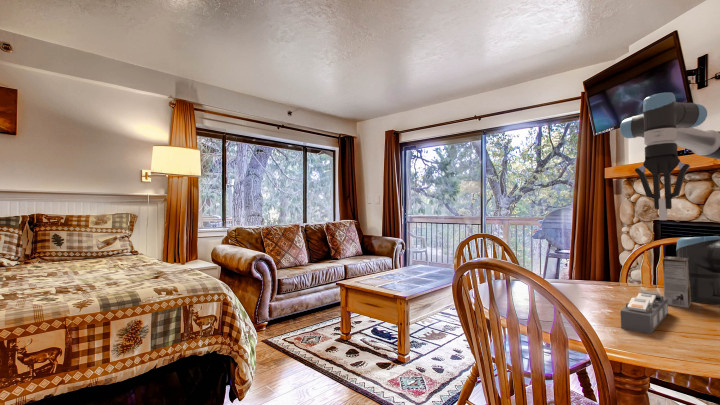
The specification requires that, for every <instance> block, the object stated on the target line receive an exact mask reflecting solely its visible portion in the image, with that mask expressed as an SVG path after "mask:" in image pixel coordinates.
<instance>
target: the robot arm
mask: <svg viewBox="0 0 720 405" xmlns="http://www.w3.org/2000/svg"><path fill="white" fill-rule="evenodd" d="M642 105H643V107H642V113H641V114H637V115H633V116H631V117H628V118H625V119H624V120H622V121H621V122H620V126H619V132H620V134H621V136H622V137H624V138H625V139H636V138H644V140H643V142H644V145H645V147H644V161H643V163H642V165H641V166H639V167H638V168H637V167H635V169H634V172H635V173H636V174H637V175H638V176H639V179H640V182H641V185H642V187H643V191H644V193H645V196H646V197H647V198H651V199H653V202H654V205H653V206H654V207H653V208H654V209H655V210H658V214H659V215H658V216H659V221H668V210H671V209H672V207H673V206H672V205H673V204H672V202H673V201H672V199H674V198H676V197H679V196H680V194H681V190H682V187H683V183H684V180H685V176H686V173H687V172H688V171H689V169H690V168H691V165H690V164H689V163H685V162H682V161H681V159H680V158H679V155H678V154H679V153H678V147H679V148H682V149H685V150H689V151H691V153H693V154H695V155H697V156H701V157H705V158H709V159H714V160H715V159H716V160H720V130H713V129H708V130H702V129H698V128H697V127H698V126H700V125H702V124H703V123H704V122H705V121H706V119H707V118H708V117H707V116H708V110H707V108H706V107H705V106H704V105H703V104H699V103H696V102H695V103H694V102H680V101H679V102H678V101H677V98H676V96H675V93H673V92H660V93H655V94H651V95H649V96H647V97H645V98H644V99H643V102H642ZM695 127H696V128H695ZM677 167H678V170H679V172H678V175H677V178H676V181H675V186H674V189H673V192H672V181H671V180H672V177H671V176H672V172H673V171H675V169H676V168H677ZM646 170H647V171H648V172H649V173H650V174H652V183H653V185H652V186H653V187H652V188H653V192H652V189H651V185H650V184H649V180H648V178H647V176H646V175H647V174H646ZM661 174H662V175H663V183H664V184H663V186H664V198H661V182H660V181H661V180H660V177H661ZM675 251H676V257H681V258H689V270H690V290H691V302H694V303H695V302H696V303H703V304H711V305H713V304H714V305H715V304H716V305H720V236H719V235H713V236H693V237H691V236H689V237H680V238H678V239H677V241H676V249H675Z"/></svg>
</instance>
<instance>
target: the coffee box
mask: <svg viewBox="0 0 720 405" xmlns="http://www.w3.org/2000/svg"><path fill="white" fill-rule="evenodd" d="M662 270H663V272H662V273H663V293H664V294H663V296H664V297H665V298H668V306H674V307H680V308H687V309H689V308H690V306H691V303H692V301H691V290H690V270H689V258H681V257H677V256H669V255H667V256H666V255H665V257H664V258H663V259H662Z"/></svg>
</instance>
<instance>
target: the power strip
mask: <svg viewBox="0 0 720 405" xmlns="http://www.w3.org/2000/svg"><path fill="white" fill-rule="evenodd" d="M660 297H661V298H656V299H655V301H654V303H653V305H652V306H651V305H649V306H648V309H647V310H646V312H642V311H636V310H630V309H628V308H627V306H628V304H629V302H625V307H623V308H622V309H621V310H620V328H621V329H623V330H629V331H632V332H633V331H634V332H636V333H637V332H638V333H642V334H643V333H644V334H648V335H651V334H652V333H653V332H654V331H655V330H656V329H657V328H658V326H659V325H660V324H661V322H663V320H664V319H665V318H666V317H667V316H668V314H669V305H668V298H665V297H664V295H661V296H660Z"/></svg>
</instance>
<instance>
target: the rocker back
mask: <svg viewBox="0 0 720 405" xmlns="http://www.w3.org/2000/svg"><path fill="white" fill-rule="evenodd" d="M640 293H643V294H650V295H656V298H661V297H660V296H662V295H661V294H660V293H659V292H658V291H653V290H644V289H641V290H640Z"/></svg>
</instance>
